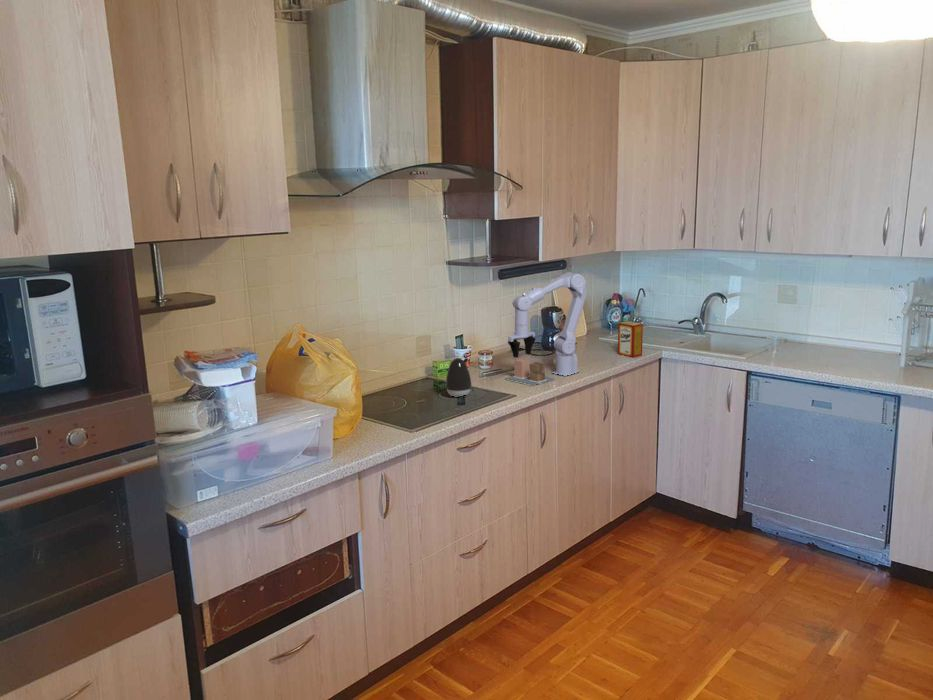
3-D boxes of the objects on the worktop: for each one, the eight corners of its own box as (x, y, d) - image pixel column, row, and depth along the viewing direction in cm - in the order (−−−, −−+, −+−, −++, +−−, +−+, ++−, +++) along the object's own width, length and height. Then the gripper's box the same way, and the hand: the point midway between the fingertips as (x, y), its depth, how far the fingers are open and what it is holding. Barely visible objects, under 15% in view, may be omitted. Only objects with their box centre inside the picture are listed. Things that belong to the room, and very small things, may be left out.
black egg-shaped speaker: (477, 395, 280) (476, 357, 277) (458, 400, 273) (457, 362, 270) (459, 390, 287) (458, 354, 284) (440, 396, 280) (439, 358, 277)
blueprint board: (527, 373, 312) (527, 372, 312) (554, 379, 300) (554, 378, 300) (504, 379, 303) (504, 378, 303) (532, 386, 291) (532, 384, 291)
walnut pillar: (536, 378, 302) (536, 362, 300) (544, 379, 298) (544, 363, 297) (529, 380, 299) (529, 363, 297) (537, 381, 295) (537, 365, 294)
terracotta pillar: (521, 374, 308) (521, 358, 306) (529, 376, 305) (529, 360, 303) (514, 376, 305) (514, 360, 303) (522, 378, 302) (522, 362, 300)
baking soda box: (641, 355, 341) (642, 323, 337) (632, 357, 337) (633, 324, 334) (627, 352, 348) (627, 320, 345) (617, 354, 345) (618, 322, 341)
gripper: (526, 320, 308) (526, 351, 310) (502, 325, 298) (503, 357, 301) (538, 322, 302) (538, 353, 305) (515, 327, 293) (515, 359, 296)
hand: (521, 355), depth 303 cm, fingers open, 7 cm apart
